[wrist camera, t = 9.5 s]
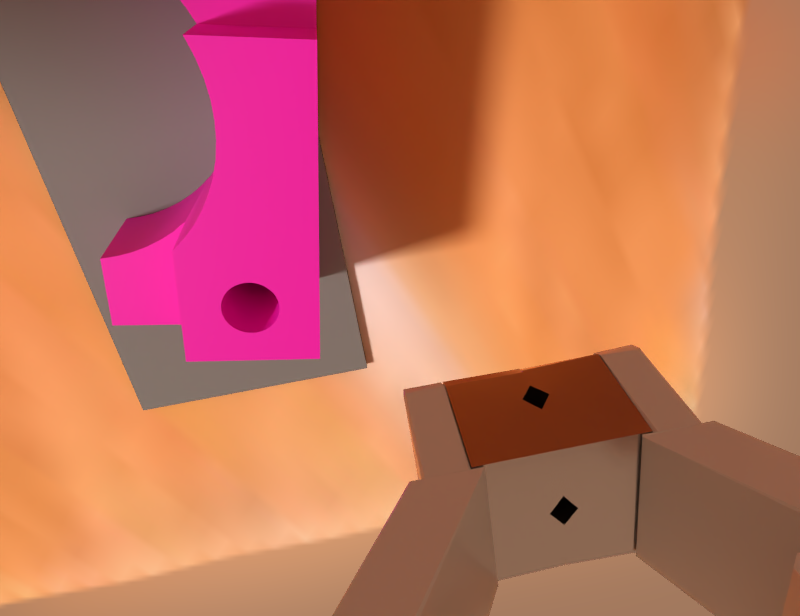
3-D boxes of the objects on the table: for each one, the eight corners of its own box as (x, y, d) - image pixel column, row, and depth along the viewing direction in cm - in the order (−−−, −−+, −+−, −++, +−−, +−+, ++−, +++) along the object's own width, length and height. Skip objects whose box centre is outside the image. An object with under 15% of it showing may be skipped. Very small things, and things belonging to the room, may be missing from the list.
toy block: (319, 358, 23) (92, 363, 22) (318, 278, 28) (136, 279, 27) (315, -171, 16) (-24, -197, 15) (314, -144, 21) (66, -162, 20)
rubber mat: (144, 406, 31) (143, 410, 31) (-139, -250, 19) (-146, -253, 19) (366, 364, 31) (367, 368, 31) (224, -309, 19) (223, -312, 19)
